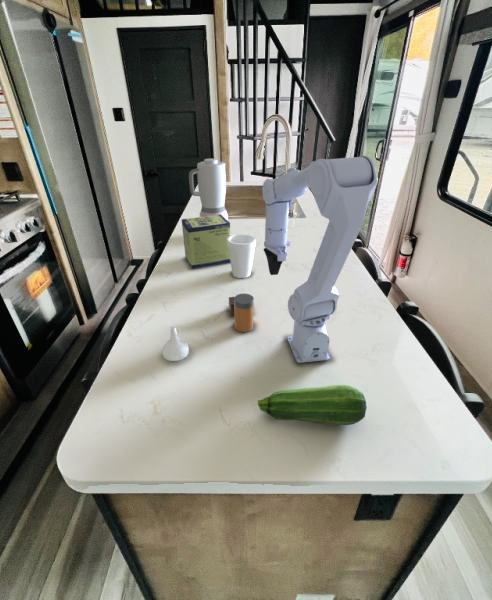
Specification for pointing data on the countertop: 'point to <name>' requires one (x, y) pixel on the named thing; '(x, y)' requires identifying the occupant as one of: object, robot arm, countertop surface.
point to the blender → (210, 187)
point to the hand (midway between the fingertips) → (273, 273)
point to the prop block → (231, 306)
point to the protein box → (206, 240)
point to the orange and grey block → (243, 312)
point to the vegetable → (317, 405)
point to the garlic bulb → (175, 347)
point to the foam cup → (241, 254)
